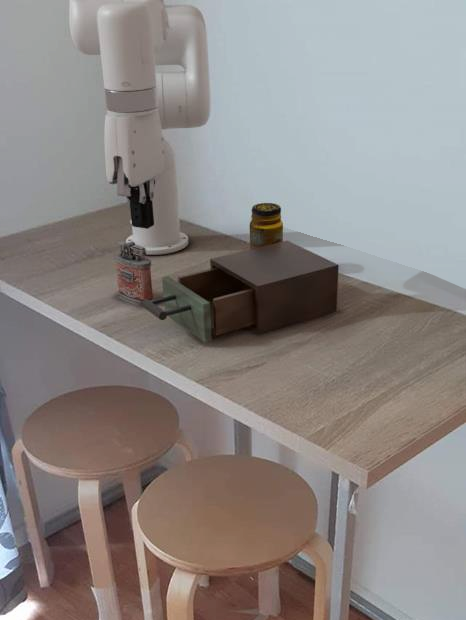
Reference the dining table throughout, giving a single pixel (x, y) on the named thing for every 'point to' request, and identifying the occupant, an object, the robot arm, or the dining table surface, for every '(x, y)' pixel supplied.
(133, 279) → the lighter
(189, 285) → the drawer
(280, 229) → the condiment
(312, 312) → the cabinet
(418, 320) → the dining table surface
